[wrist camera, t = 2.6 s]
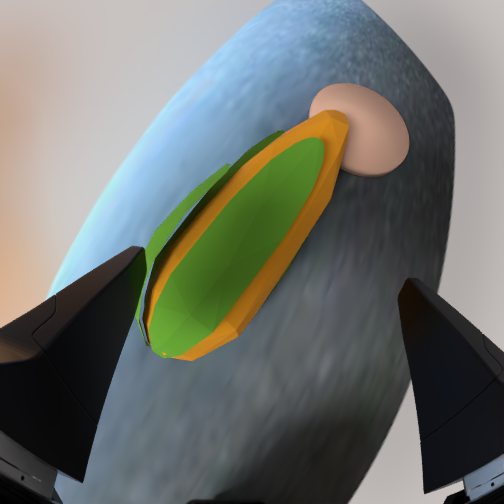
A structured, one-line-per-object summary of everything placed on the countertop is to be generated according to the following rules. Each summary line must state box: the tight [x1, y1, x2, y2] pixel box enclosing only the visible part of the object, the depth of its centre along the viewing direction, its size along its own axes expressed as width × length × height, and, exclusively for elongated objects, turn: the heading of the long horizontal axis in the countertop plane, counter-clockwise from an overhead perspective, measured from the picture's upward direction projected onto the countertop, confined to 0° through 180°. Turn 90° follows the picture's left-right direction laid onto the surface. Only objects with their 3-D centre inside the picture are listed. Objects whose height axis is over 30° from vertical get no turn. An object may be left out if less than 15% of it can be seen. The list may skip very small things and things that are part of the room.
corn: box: [135, 110, 349, 361], centre depth 17 cm, size 7×8×20 cm
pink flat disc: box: [308, 83, 409, 178], centre depth 22 cm, size 9×9×1 cm
